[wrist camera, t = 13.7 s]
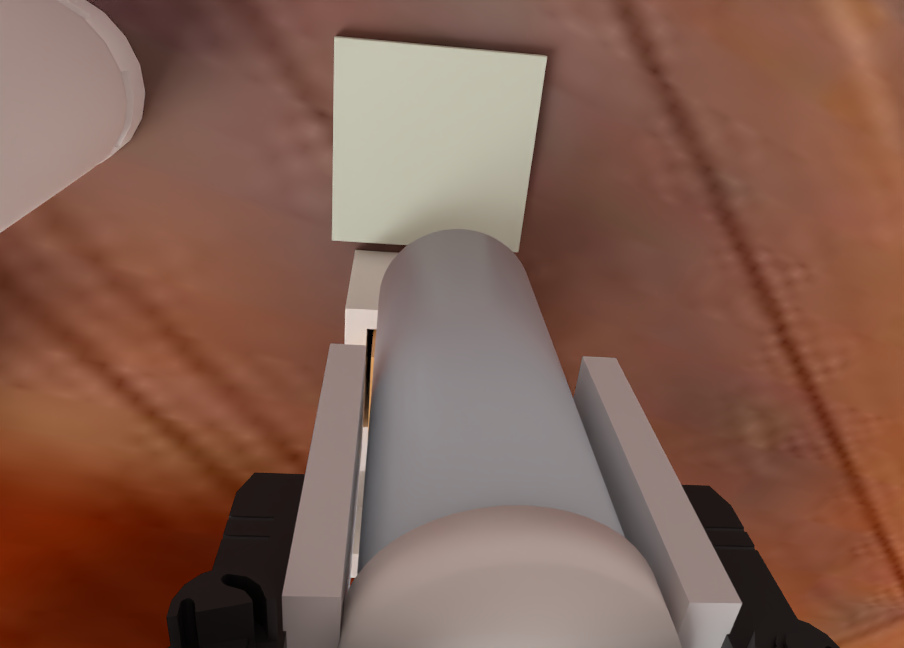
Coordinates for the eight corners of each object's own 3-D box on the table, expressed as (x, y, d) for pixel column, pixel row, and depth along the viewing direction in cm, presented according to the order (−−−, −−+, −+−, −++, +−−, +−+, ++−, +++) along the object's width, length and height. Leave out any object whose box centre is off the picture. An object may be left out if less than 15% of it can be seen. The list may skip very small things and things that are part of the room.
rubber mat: (516, 248, 38) (518, 252, 37) (332, 236, 37) (332, 240, 37) (544, 55, 33) (547, 56, 33) (335, 35, 32) (334, 37, 32)
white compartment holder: (479, 522, 47) (490, 607, 41) (326, 518, 46) (314, 604, 40) (518, 260, 38) (540, 319, 32) (329, 248, 37) (314, 306, 31)
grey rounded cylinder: (524, 375, 21) (638, 786, 11) (368, 366, 21) (330, 787, 10) (550, 229, 19) (725, 567, 9) (375, 215, 19) (337, 558, 8)
